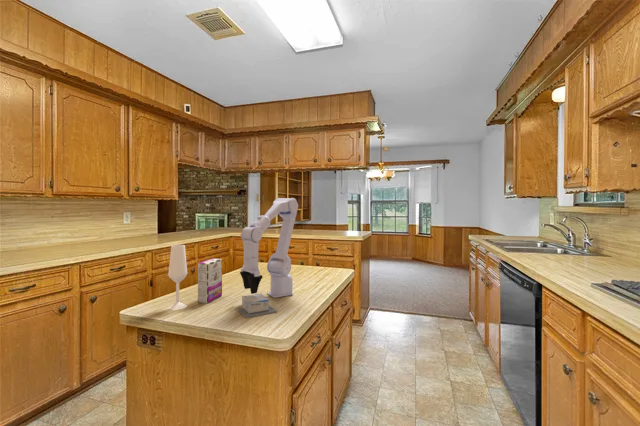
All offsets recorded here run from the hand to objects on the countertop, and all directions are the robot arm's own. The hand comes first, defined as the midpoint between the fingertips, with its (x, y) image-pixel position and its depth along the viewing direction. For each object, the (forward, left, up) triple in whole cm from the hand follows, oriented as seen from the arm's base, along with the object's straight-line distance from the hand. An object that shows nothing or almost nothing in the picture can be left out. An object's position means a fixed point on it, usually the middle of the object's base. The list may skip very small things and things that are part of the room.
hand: (250, 290), depth 119 cm
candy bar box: (+12, -16, -6) cm, 21 cm away
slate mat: (0, +7, -6) cm, 10 cm away
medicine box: (0, +1, -3) cm, 4 cm away
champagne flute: (+25, -12, -6) cm, 28 cm away
